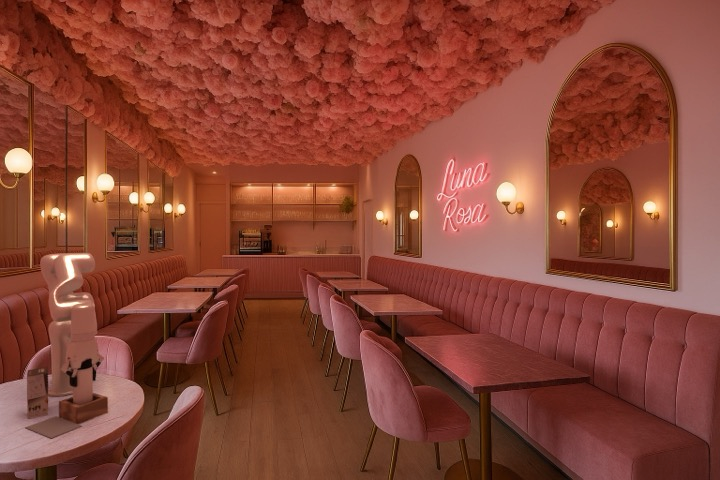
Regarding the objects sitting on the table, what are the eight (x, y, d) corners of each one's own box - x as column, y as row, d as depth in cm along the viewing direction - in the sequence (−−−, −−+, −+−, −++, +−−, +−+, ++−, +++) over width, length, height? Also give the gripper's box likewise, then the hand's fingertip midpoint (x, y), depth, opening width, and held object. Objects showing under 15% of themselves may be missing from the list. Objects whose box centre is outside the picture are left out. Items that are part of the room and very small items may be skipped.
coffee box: (48, 414, 162) (48, 373, 161) (27, 419, 158) (26, 376, 157) (48, 406, 169) (47, 366, 168) (27, 410, 165) (27, 369, 165)
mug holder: (59, 417, 160) (58, 401, 160) (88, 406, 170) (88, 391, 169) (78, 424, 154) (78, 407, 154) (107, 412, 164) (107, 397, 164)
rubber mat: (25, 428, 151) (25, 427, 151) (56, 417, 160) (56, 416, 160) (51, 439, 144) (51, 437, 144) (81, 426, 153) (81, 425, 153)
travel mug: (83, 414, 159) (83, 362, 158) (68, 412, 160) (68, 360, 159) (97, 407, 165) (97, 356, 164) (82, 405, 166) (82, 355, 165)
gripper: (99, 330, 171) (99, 374, 171) (52, 340, 155) (52, 389, 156) (111, 332, 167) (111, 377, 168) (64, 343, 152) (64, 393, 153)
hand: (83, 382), depth 162 cm, fingers closed on travel mug, 6 cm apart
